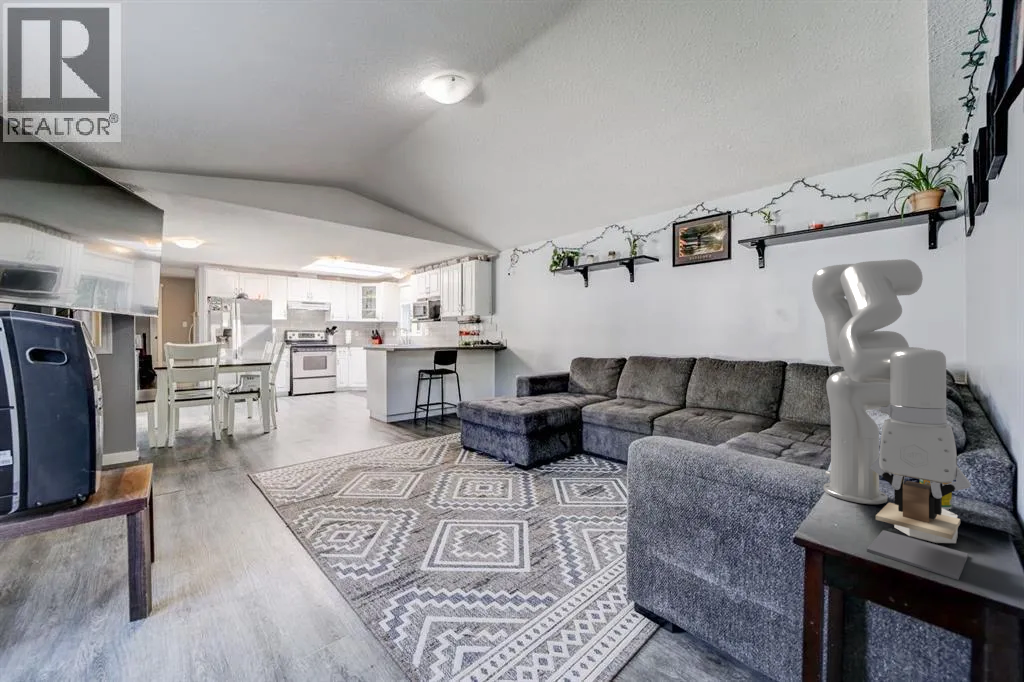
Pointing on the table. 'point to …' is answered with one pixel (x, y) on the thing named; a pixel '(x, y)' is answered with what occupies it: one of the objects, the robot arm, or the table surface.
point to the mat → (919, 554)
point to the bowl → (930, 536)
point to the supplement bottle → (945, 499)
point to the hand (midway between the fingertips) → (917, 512)
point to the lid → (918, 512)
